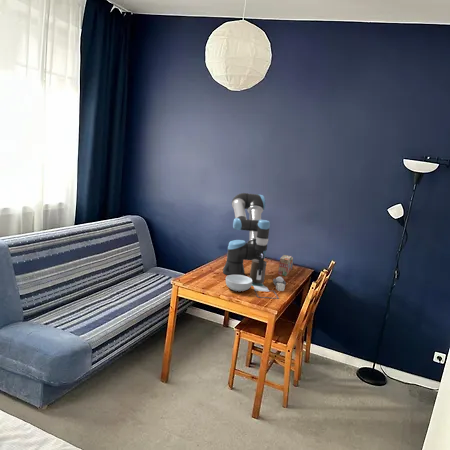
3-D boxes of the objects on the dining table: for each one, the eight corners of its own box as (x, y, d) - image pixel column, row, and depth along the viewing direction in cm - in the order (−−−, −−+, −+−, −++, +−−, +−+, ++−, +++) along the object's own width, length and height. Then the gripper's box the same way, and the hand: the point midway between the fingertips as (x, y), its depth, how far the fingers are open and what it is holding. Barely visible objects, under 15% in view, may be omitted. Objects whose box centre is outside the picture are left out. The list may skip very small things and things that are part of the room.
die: (278, 291, 264) (279, 285, 264) (275, 288, 268) (276, 282, 267) (284, 290, 266) (284, 284, 265) (281, 288, 269) (282, 282, 269)
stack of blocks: (284, 267, 319) (286, 251, 317) (292, 269, 317) (294, 253, 315) (277, 274, 299) (280, 258, 297) (286, 276, 297) (288, 259, 295)
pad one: (255, 290, 260) (255, 290, 260) (253, 286, 268) (253, 285, 268) (269, 291, 261) (269, 291, 261) (266, 287, 269) (266, 286, 269)
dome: (276, 284, 275) (277, 277, 274) (274, 281, 280) (275, 275, 279) (283, 284, 276) (284, 278, 275) (282, 282, 280) (282, 275, 280)
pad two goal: (250, 285, 268) (250, 285, 268) (248, 281, 277) (248, 280, 277) (264, 286, 269) (264, 286, 269) (261, 282, 278) (262, 281, 278)
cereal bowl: (223, 283, 266) (224, 273, 265) (249, 285, 268) (250, 275, 266) (225, 293, 250) (226, 282, 248) (252, 295, 251) (254, 284, 250)
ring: (257, 297, 249) (257, 296, 249) (254, 289, 261) (254, 289, 261) (278, 298, 250) (278, 298, 250) (274, 291, 263) (274, 290, 263)
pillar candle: (252, 283, 267) (255, 260, 264) (247, 278, 276) (250, 256, 273) (266, 283, 269) (269, 261, 267) (260, 278, 279) (264, 257, 276)
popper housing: (275, 285, 274) (275, 282, 274) (272, 281, 281) (273, 278, 280) (285, 286, 275) (285, 282, 274) (283, 282, 282) (283, 279, 281)
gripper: (270, 248, 257) (266, 283, 262) (264, 240, 279) (259, 272, 283) (258, 247, 257) (254, 282, 261) (253, 239, 278) (249, 271, 283)
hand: (257, 277), depth 272 cm, fingers closed on pillar candle, 10 cm apart
